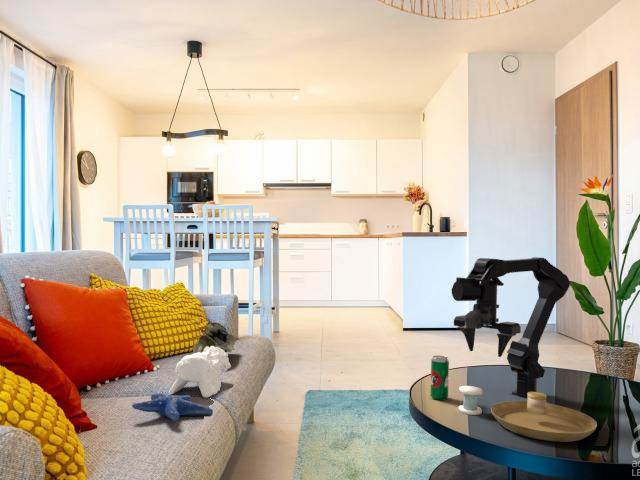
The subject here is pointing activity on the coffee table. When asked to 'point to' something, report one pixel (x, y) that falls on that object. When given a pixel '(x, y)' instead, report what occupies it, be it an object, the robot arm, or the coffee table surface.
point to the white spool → (470, 400)
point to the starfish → (173, 406)
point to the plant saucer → (544, 421)
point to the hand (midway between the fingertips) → (485, 353)
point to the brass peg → (536, 403)
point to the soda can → (439, 377)
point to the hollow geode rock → (215, 338)
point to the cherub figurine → (202, 370)
